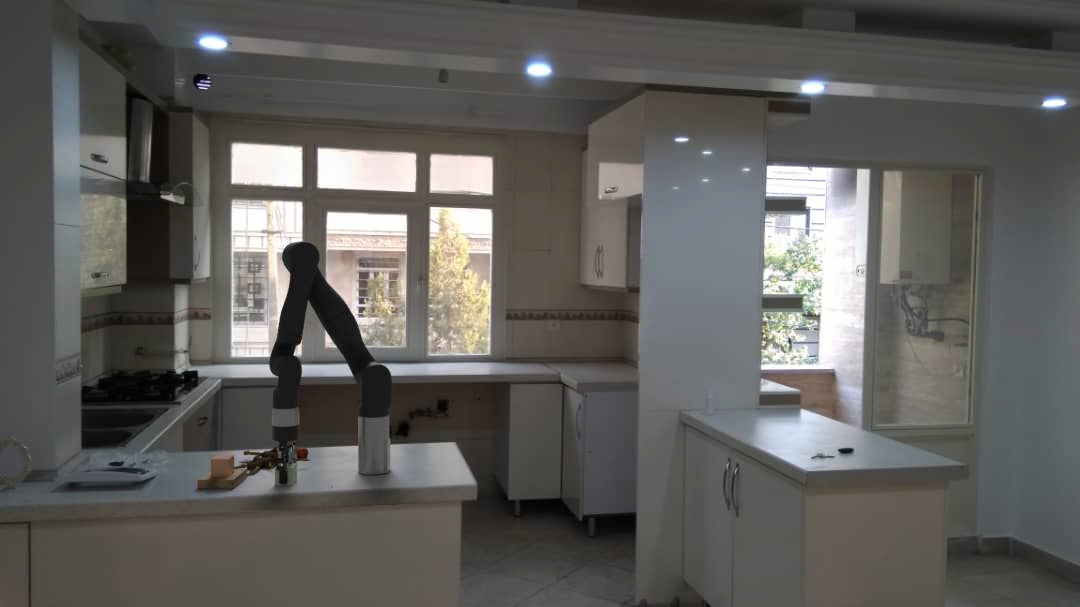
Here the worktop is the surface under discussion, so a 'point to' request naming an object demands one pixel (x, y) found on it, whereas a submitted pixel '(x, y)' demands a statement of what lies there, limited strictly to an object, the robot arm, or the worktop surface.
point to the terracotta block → (222, 465)
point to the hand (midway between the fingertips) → (285, 481)
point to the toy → (269, 459)
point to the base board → (222, 480)
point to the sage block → (288, 475)
